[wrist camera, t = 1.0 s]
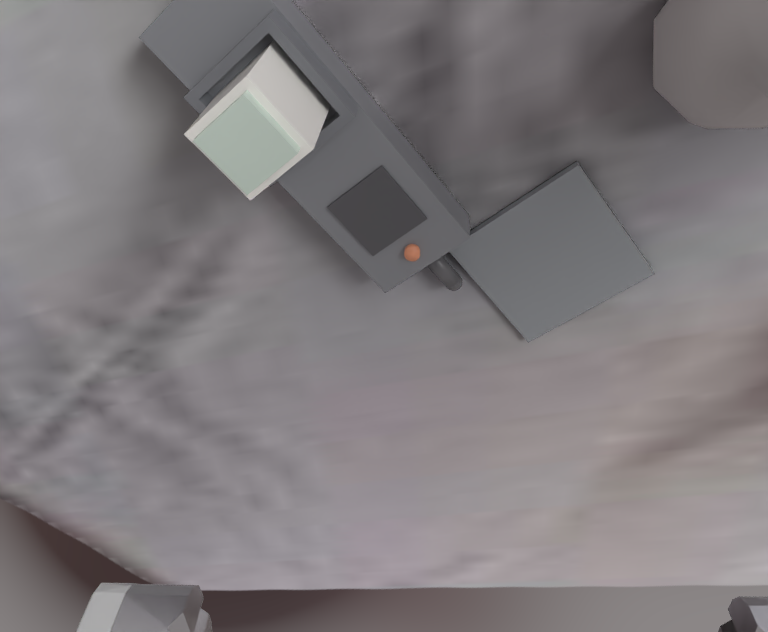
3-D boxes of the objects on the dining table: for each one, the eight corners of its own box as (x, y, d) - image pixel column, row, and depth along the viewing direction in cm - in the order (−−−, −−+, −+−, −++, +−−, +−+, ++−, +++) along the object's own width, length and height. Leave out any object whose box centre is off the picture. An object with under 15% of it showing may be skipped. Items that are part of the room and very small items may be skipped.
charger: (274, 39, 36) (243, 80, 30) (330, 104, 38) (311, 155, 32) (218, 92, 38) (179, 139, 32) (275, 151, 40) (247, 206, 34)
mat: (576, 161, 42) (578, 165, 41) (652, 269, 46) (654, 273, 46) (447, 245, 46) (447, 250, 46) (527, 337, 50) (528, 342, 50)
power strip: (239, -64, 36) (216, -51, 32) (499, 252, 46) (504, 289, 43) (157, 24, 39) (128, 44, 35) (419, 302, 49) (417, 340, 45)
